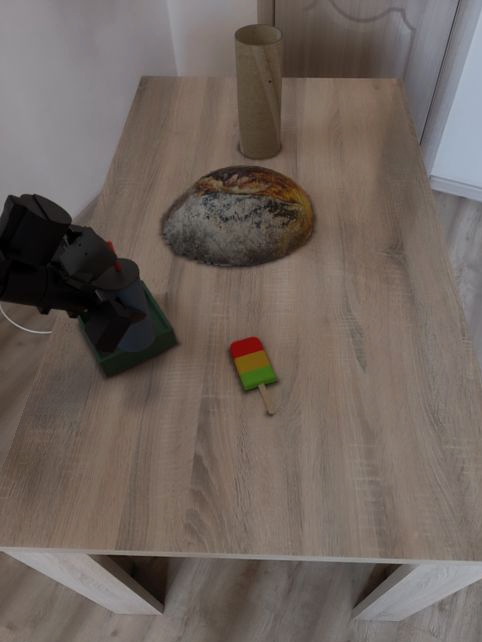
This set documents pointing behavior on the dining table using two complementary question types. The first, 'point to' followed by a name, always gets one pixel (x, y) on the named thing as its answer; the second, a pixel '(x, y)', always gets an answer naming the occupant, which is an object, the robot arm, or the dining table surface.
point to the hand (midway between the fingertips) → (134, 301)
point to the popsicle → (253, 366)
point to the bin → (125, 359)
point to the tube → (259, 89)
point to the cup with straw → (128, 301)
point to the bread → (239, 217)
